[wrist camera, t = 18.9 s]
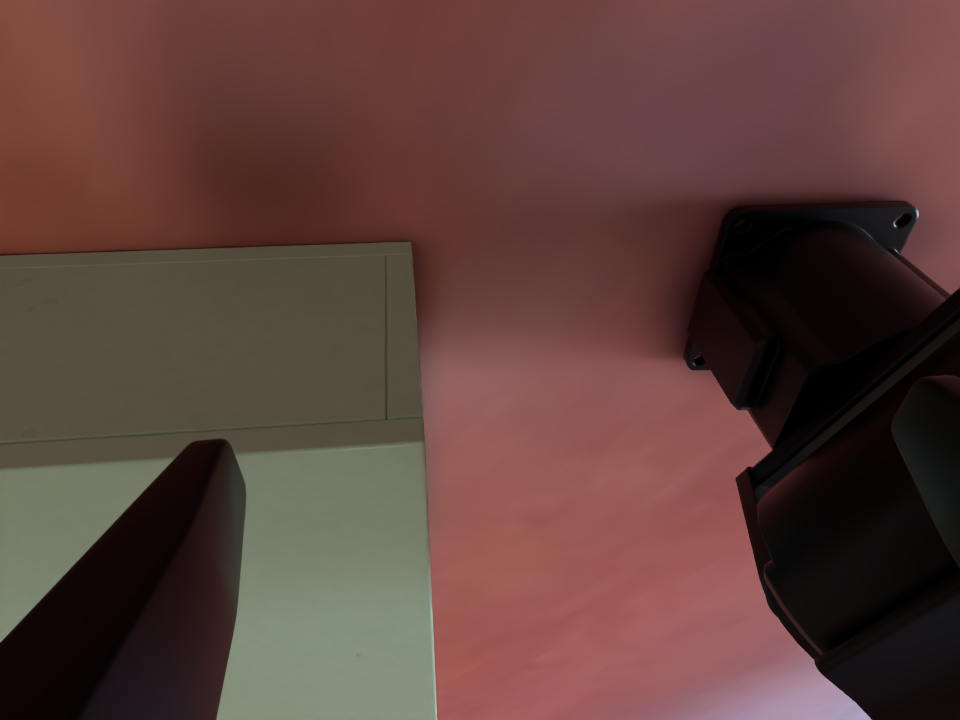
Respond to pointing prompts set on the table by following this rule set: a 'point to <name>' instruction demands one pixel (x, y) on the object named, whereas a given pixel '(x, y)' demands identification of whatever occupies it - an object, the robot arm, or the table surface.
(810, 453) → the robot arm
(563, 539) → the table surface
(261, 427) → the pale green box
